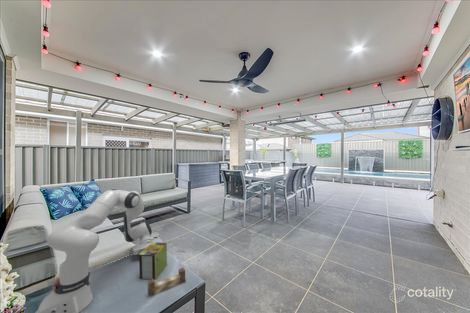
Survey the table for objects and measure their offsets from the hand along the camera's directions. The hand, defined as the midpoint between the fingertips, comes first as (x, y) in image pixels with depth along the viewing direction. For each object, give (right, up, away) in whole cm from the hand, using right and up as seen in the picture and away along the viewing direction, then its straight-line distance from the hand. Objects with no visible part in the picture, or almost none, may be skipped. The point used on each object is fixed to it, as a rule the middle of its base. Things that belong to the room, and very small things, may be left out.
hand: (150, 251), depth 127 cm
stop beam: (+21, -8, -24) cm, 33 cm away
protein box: (+7, -7, -10) cm, 15 cm away
